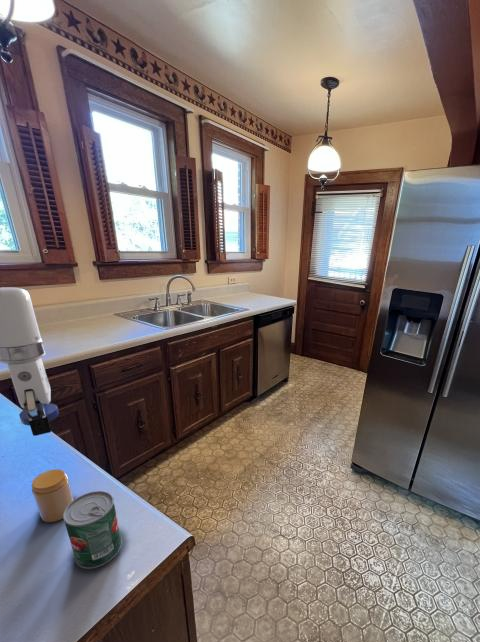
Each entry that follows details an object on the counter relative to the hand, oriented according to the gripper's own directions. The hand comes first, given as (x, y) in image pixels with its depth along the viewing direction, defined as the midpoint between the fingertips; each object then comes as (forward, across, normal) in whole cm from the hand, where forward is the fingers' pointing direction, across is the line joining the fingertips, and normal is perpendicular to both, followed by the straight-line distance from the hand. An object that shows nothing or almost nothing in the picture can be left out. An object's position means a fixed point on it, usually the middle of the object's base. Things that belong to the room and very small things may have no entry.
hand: (42, 424), depth 70 cm
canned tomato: (+16, -26, -6) cm, 31 cm away
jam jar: (+16, -11, 0) cm, 19 cm away
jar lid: (-3, 0, 0) cm, 3 cm away
